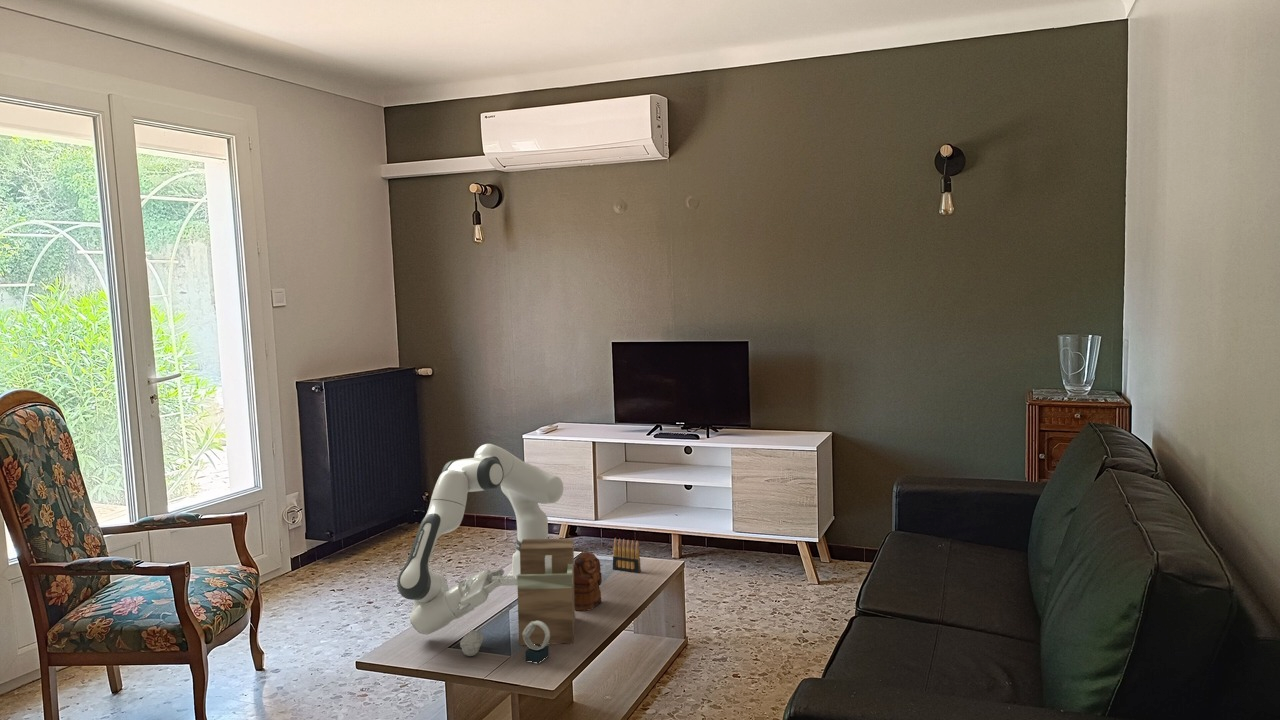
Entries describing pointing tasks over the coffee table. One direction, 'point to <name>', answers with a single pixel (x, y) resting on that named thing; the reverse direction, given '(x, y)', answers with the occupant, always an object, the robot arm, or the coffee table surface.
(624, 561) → the ammunition clip
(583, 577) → the wooden figurine
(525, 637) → the watch
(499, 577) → the aluminium bracket
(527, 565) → the stepped shelf
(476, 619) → the coffee table surface
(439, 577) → the robot arm
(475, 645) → the white rough round lump
